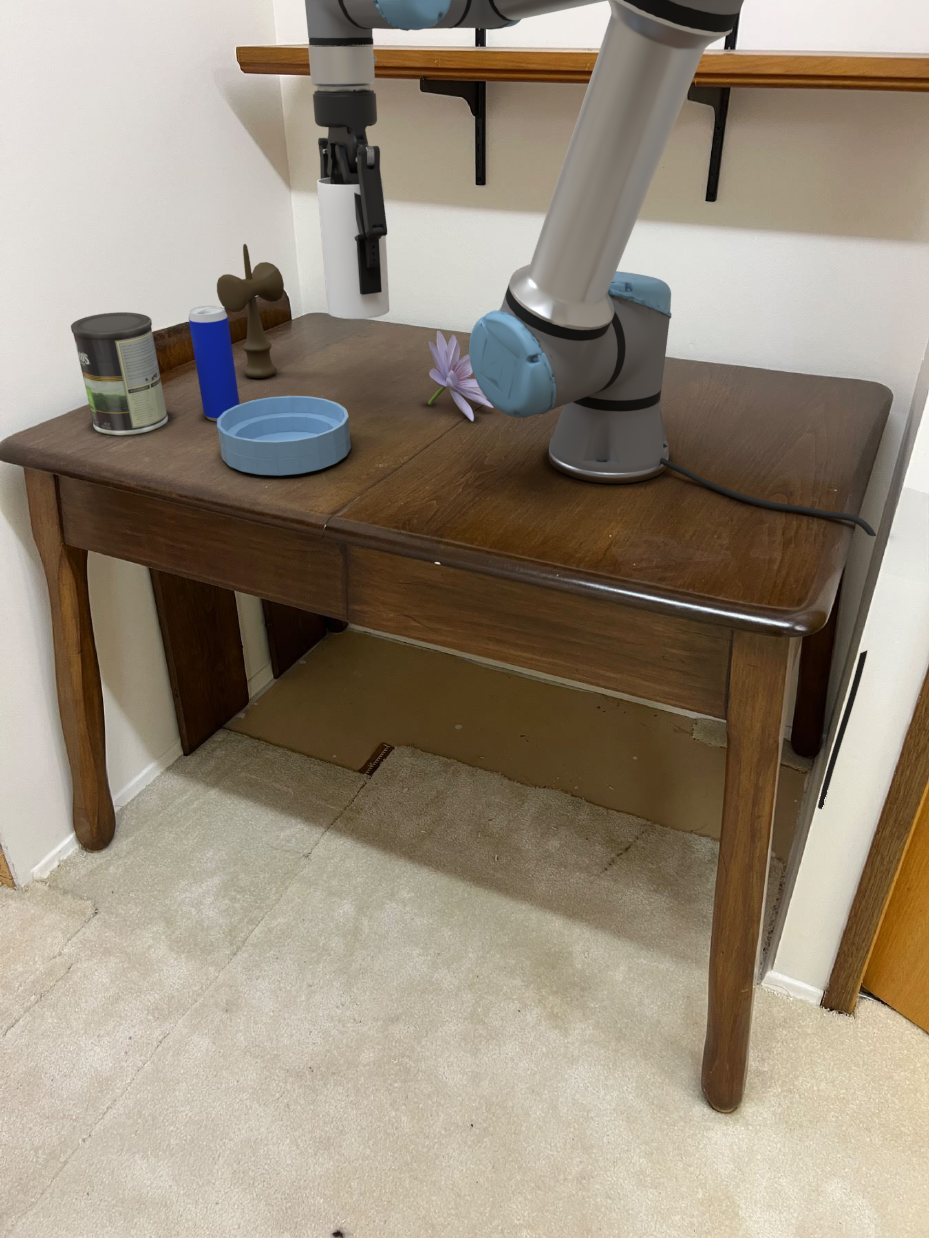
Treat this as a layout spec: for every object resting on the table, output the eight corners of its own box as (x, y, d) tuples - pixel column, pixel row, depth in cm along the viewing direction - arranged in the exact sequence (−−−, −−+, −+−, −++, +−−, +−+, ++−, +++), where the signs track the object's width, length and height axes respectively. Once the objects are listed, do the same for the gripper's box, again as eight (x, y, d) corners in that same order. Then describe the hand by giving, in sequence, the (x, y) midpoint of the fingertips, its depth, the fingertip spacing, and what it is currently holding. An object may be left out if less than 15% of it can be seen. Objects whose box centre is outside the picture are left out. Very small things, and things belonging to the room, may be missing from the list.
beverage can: (222, 407, 138) (206, 303, 130) (248, 413, 136) (234, 308, 128) (196, 418, 134) (179, 311, 126) (223, 425, 132) (207, 317, 124)
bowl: (371, 463, 121) (369, 425, 118) (246, 490, 114) (241, 451, 111) (321, 422, 133) (318, 388, 130) (206, 445, 126) (200, 409, 123)
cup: (386, 319, 122) (379, 185, 113) (323, 319, 122) (311, 185, 113) (392, 303, 129) (386, 175, 120) (332, 303, 129) (322, 176, 120)
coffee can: (95, 440, 127) (71, 336, 120) (92, 415, 136) (69, 316, 128) (172, 430, 130) (154, 328, 123) (165, 406, 139) (147, 309, 131)
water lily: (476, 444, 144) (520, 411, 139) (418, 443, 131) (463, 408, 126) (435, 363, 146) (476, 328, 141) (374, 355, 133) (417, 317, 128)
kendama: (294, 370, 153) (281, 240, 142) (254, 386, 146) (237, 251, 135) (266, 364, 156) (251, 236, 145) (226, 380, 149) (207, 247, 138)
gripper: (411, 91, 105) (418, 299, 117) (339, 83, 121) (351, 267, 133) (349, 94, 102) (363, 307, 114) (283, 85, 118) (301, 273, 130)
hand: (357, 285), depth 124 cm, fingers closed on cup, 8 cm apart
